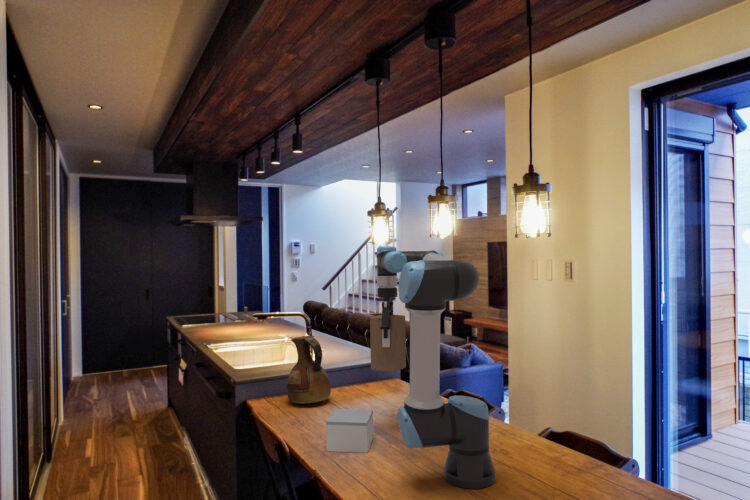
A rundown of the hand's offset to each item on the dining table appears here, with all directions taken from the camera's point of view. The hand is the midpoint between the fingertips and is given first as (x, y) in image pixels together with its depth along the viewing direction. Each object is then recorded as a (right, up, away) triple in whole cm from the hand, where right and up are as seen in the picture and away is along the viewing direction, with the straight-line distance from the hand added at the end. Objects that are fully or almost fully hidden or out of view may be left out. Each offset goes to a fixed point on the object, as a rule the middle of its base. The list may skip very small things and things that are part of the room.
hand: (388, 343), depth 191 cm
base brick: (-14, -33, -14) cm, 38 cm away
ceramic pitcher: (-35, -33, +36) cm, 60 cm away
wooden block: (0, -10, 0) cm, 10 cm away
